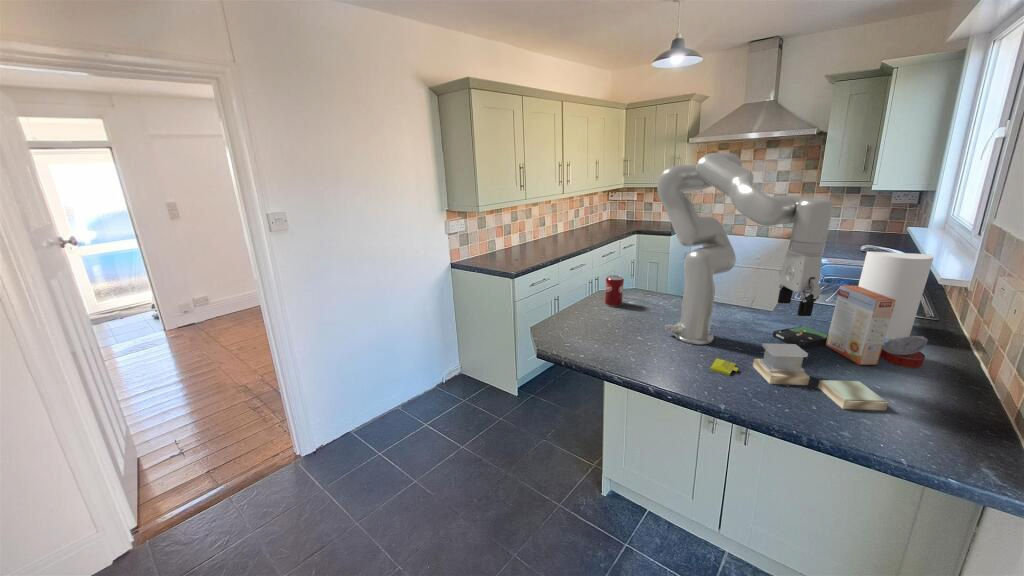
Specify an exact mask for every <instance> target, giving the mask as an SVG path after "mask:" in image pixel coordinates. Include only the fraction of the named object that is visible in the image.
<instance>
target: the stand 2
mask: <svg viewBox="0 0 1024 576" xmlns="http://www.w3.org/2000/svg"><path fill="white" fill-rule="evenodd" d="M818 381H819V382H818V385H817V388H818V389H819V390H821V392H823V394H825V395H826V396H827V397H828V398H829V399H831V400H832V401H833V402H834V403H835V404H836V405H838V407H840V408H841V409H842V410H859V411H860V410H861V411H862V410H863V411H864V410H865V411H887V409H888V405H889V402H888V401H887V400H885V399H884V398H882V397H881V396H880V395H879V394H877V393H876V392H874V390H872V389H870V388H869V387H868V386H866V385H865V384H863V383H862V382H861V381H859V380H833V379H832V380H831V379H830V380H829V379H828V380H827V379H826V380H825V379H820V380H818Z"/></svg>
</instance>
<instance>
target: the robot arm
mask: <svg viewBox="0 0 1024 576" xmlns="http://www.w3.org/2000/svg"><path fill="white" fill-rule="evenodd" d="M753 182H754V174H753V172H752V171H750V170H748V169H746V168H745V167H743V164H742V160H741V159H740V157H739V156H738V155H737V154H735V153H731V152H712V153H707V154H705V155H703V156H702V157H700V158H699V159H698V160H697V162H696V164H681V165H673V166H670V167H667V168H666V169H664V170H663V171H662V172H661V174H660V176H659V178H658V180H657V186H656V187H657V188H656V190H657V195H658V198H659V201H660V203H661V206H663V209H664V210H665V212H666V214H667V216H668V219H669V221H670V223H671V226H672V229H673V231H674V233H675V236H676V238H677V240H678V241H679V244H680V245H682V246H683V247H686V248H688V247H690V248H691V247H697V246H698V248H695V249H693V250H691V251H689V252H688V253H687V254H686V256H685V257H684V260H683V268H684V270H683V271H684V285H683V287H684V288H683V297H682V304H681V313H680V319H679V320H680V321H677V323H674V324H665V326H664V329H665V331H670V333H673V335H674V337H675V339H677V340H680V342H684V343H687V344H692V345H707V344H710V343H712V342H713V341H714V339H715V338H714V337H715V336H714V334H712V333H711V332H710V330H711V329H710V328H711V323H712V316H713V314H712V313H713V310H714V309H713V308H714V301H715V294H716V284H715V281H714V276H715V275H719V274H723V273H724V274H725V273H727V272H729V271H731V270H732V269H734V266H735V264H736V253H735V250H734V247H733V245H732V244H731V241H730V239H729V237H728V235H727V233H726V231H725V227H724V226H723V225H722V223H721V222H720V221H719V220H718V219H717V218H715V217H714V216H713V217H712V216H700V215H699V214H698V212H697V211H696V208H695V205H694V204H693V202H692V200H690V198H688V196H687V195H685V194H684V192H689V191H700V190H704V189H708V188H711V187H713V188H715V189H716V190H717V191H720V192H721V193H723V194H724V195H725V196H727V197H728V198H730V202H731V203H732V205H733V206H734V208H735V210H737V212H739V213H740V214H742V215H743V216H745V217H746V218H747V219H749V220H751V221H753V222H754V223H757V224H759V225H762V226H764V227H772V226H778V225H787V224H792V229H791V232H790V240H789V244H788V249H787V252H786V253H785V256H784V258H783V263H782V265H781V269H780V271H779V278H778V282H779V283H780V284H779V286H778V287H779V293H778V298H777V303H778V304H791V300H792V297H793V292H794V293H798V294H800V296H801V300H800V301H799V305H798V308H797V313H796V314H797V316H799V317H811V316H812V315H813V310H814V303H816V302H817V300H818V299H819V297H820V295H821V294H822V291H823V289H822V287H821V286H820V280H821V272H822V266H823V265H822V263H823V262H822V260H823V255H824V250H825V245H826V241H827V238H828V233H829V230H830V229H829V228H830V224H831V223H830V222H831V220H832V215H833V210H834V203H833V201H831V200H830V199H826V198H814V197H813V198H812V197H811V198H810V197H809V198H807V197H801V196H799V195H790V194H789V195H776V196H769V195H768V194H766V193H764V192H763V191H760V190H759V189H758V188H756V187H754V185H753ZM699 246H702V247H699ZM807 294H808V295H807Z"/></svg>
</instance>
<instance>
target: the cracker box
mask: <svg viewBox="0 0 1024 576" xmlns="http://www.w3.org/2000/svg"><path fill="white" fill-rule="evenodd" d="M895 302H896V300H894V299H892V298H889V297H886V296H883V295H881V294H878V293H875V292H873V291H870V290H867V289H865V288H862V287H859V286H858V285H840V286H839V289H838V293H837V297H836V301H835V305H834V306H835V307H834V309H833V314H832V317H831V322H830V326H829V330H828V333H827V334H828V337H827V341H826V344H825V346H826V347H828V348H830V349H832V350H833V351H835V352H836V353H838V354H840V355H842V356H843V357H845V358H847V359H848V360H850V361H852V362H853V363H855V364H856V365H858V366H859V365H860V366H877V365H878V363H879V359H880V353H881V350H882V346H883V345H884V343H885V339H886V338H885V336H886V333H887V329H888V326H889V322H890V319H891V315H892V312H893V308H894V305H895Z"/></svg>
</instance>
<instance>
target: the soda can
mask: <svg viewBox="0 0 1024 576" xmlns="http://www.w3.org/2000/svg"><path fill="white" fill-rule="evenodd" d="M624 280H625V279H624V277H623V276H621V275H612V274H611V275H608V276H606V278H605V289H604V304H605V305H606V306H608V307H611V308H617V307H618V308H619V307H621V306H622V305H623V295H624Z"/></svg>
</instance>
